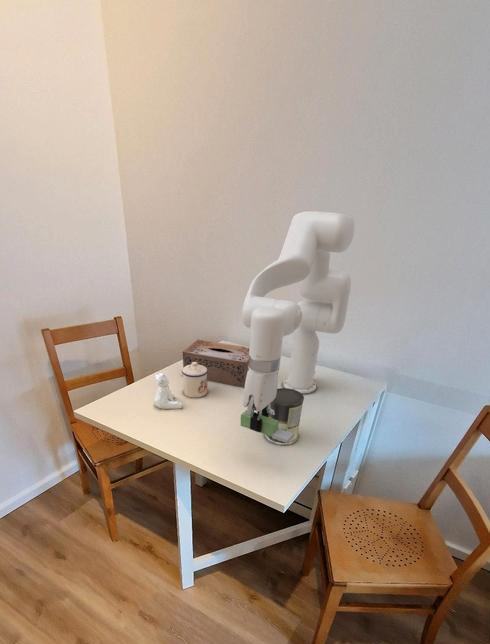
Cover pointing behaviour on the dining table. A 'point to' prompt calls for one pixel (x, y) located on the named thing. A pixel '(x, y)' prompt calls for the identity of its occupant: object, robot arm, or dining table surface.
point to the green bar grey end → (268, 428)
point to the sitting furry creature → (164, 394)
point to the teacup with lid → (195, 380)
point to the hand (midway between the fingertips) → (258, 427)
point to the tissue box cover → (219, 361)
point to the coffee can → (286, 412)
